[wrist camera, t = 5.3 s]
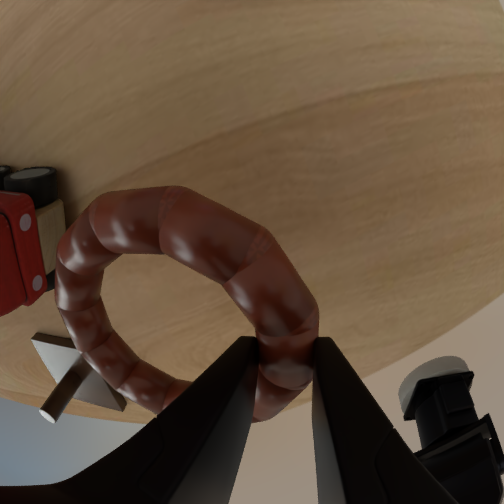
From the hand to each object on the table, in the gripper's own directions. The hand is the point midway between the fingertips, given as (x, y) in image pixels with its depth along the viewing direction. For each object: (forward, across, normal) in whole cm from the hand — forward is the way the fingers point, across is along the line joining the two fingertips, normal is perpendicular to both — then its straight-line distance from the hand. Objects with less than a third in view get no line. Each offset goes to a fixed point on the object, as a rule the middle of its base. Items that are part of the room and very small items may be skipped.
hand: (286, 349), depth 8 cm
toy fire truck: (+11, +22, -3) cm, 25 cm away
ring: (0, +3, 0) cm, 3 cm away
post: (+11, +23, +16) cm, 30 cm away
